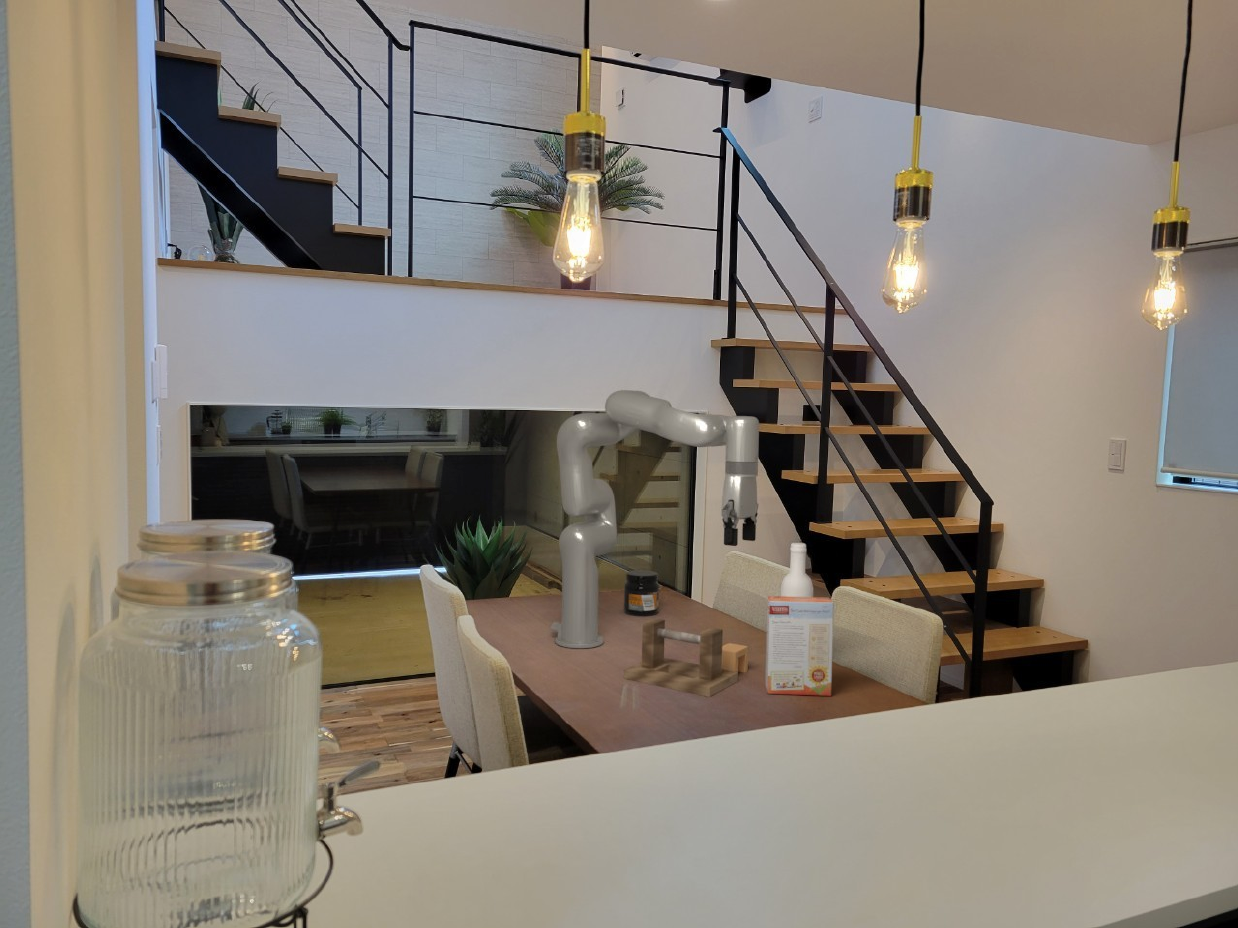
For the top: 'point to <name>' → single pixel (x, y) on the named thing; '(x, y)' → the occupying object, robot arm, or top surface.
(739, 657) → the notched block
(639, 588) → the supplement container
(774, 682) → the cracker box
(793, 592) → the bottle
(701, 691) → the tan frame
